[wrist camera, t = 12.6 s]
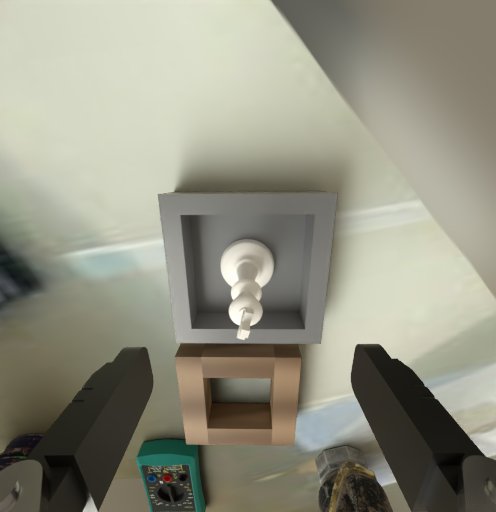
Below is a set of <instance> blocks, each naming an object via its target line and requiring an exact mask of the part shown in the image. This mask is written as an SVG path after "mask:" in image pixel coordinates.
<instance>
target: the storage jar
mask: <svg viewBox="0 0 496 512" xmlns="http://www.w3.org/2000/svg"><path fill="white" fill-rule="evenodd" d="M43 436H44V435H41V434H27V435H22V436H19V437H17V438H15V439H14V440H13V441H12V442H11V443H10V444H9V445H8V446H7V447H6V449H5V451H4V452H3V453H1V454H0V471H1V470H3V469H5V468H6V467H8V466H10V465H12V464H15V463H17V462H20V461H24V460H25V459H26V457H27V456H28V455H29V454H30V453H31V452H32V450H33V449H34V448H35V446H36V445H37V444H38V443H39V441H40V440H41V439H42V438H43Z"/></svg>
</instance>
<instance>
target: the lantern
mask: <svg viewBox="0 0 496 512" xmlns="http://www.w3.org/2000/svg"><path fill="white" fill-rule="evenodd" d="M315 463H316V467H317V471H318V474H319V477H320V480H319V481H320V483H321V488H320V491H319V499H318V501H319V508H320V512H393V510H392V508H391V505H390V503H389V501H388V498H387V496H386V494H385V492H384V490H383V488H382V487H381V485H380V484H379V483H378V482H377V480H376V476H375V474H374V472H373V471H370V470H368V469H367V466H366V463H365V460H364V457H363V455H362V452H361V451H360V450H357V449H354V448H352V447H349V446H342V447H337V448H333V449H328V450H324V451H323V452H322V453H321V454H320V456H319V457H318V458H317V459H316V460H315Z"/></svg>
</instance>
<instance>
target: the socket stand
mask: <svg viewBox="0 0 496 512" xmlns="http://www.w3.org/2000/svg"><path fill="white" fill-rule="evenodd" d="M175 361H176V369H177V377H178V384H179V392H180V400H181V407H182V415H183V423H184V431H185V438H186V444H194V445H277V446H294V442H295V430H296V417H297V405H298V393H299V381H300V369H301V355H300V351H299V347H298V344H263V343H181V344H180V347H179V349H178V351H177V353H176V356H175ZM210 378H271V389H270V404H268V403H212V398H211V385H210Z"/></svg>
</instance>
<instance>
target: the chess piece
mask: <svg viewBox="0 0 496 512" xmlns="http://www.w3.org/2000/svg"><path fill="white" fill-rule="evenodd" d="M273 271H274V259H273V256H272V253H271V252H270V250H269V249H268V248H267V247H266V246H265V245H264V244H262V243H261V242H259V241H256V240H252V239H242V240H238V241H236V242H234V243H232V244H231V245H229V246H228V247H227V248H226V250H225V251H224V253H223V255H222V257H221V273H222V276H223V278H224V279H225V281H226V282H227V283H228V284H229V285H230V286H231V287H232V289H231V296H232V299H233V301H232V303H231V304H230V307H229V316H230V318H231V320H232V321H233V322H234V323H236V324H237V325H240V326H239V329H238V332H237V338H239V339H242V340H245V338H248V336H249V333H250V326H252V325H254V324H256V323H257V322H258V321H259V320H260V319H261V317H262V313H263V309H262V306H261V304H260V302H259V300H260V298H261V296H262V290H261V288H262V287H263V286H265V285H266V284H267V283H268V282H269V280H270V279H271V277H272V275H273Z"/></svg>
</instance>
